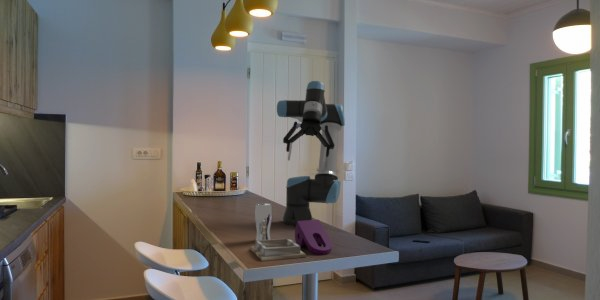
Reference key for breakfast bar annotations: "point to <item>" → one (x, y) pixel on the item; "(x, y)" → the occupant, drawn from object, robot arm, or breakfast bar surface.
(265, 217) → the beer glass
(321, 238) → the mounting bracket
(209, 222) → the breakfast bar surface
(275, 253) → the cup holder
